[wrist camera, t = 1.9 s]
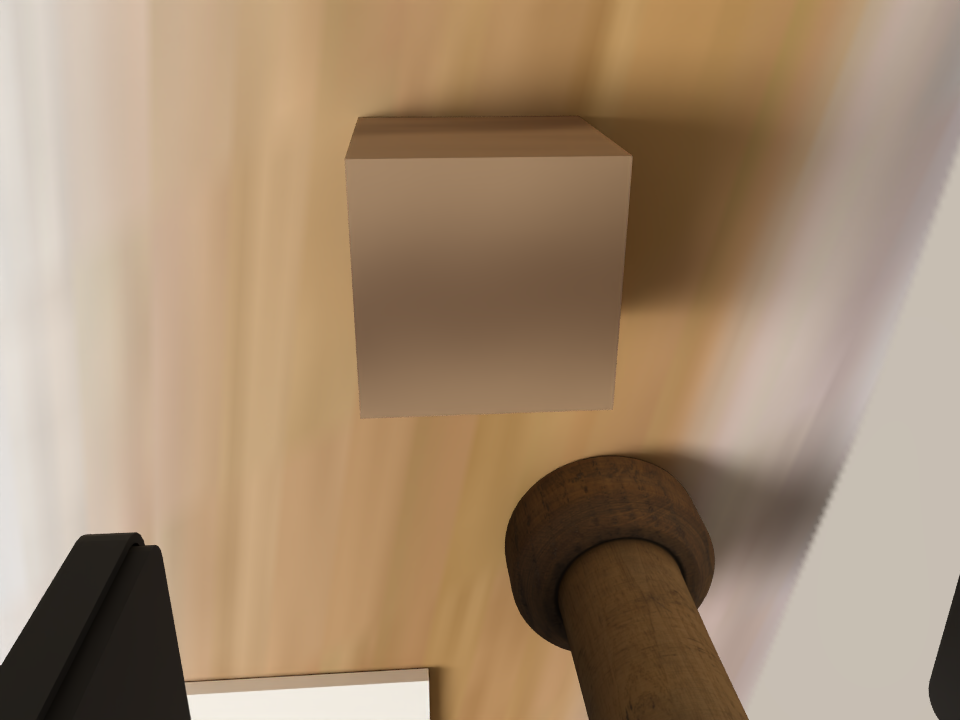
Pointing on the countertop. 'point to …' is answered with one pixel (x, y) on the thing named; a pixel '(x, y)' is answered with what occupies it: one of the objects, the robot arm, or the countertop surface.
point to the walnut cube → (486, 264)
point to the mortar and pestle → (621, 589)
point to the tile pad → (314, 697)
